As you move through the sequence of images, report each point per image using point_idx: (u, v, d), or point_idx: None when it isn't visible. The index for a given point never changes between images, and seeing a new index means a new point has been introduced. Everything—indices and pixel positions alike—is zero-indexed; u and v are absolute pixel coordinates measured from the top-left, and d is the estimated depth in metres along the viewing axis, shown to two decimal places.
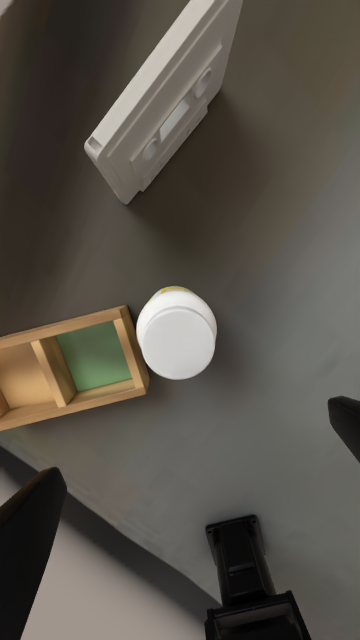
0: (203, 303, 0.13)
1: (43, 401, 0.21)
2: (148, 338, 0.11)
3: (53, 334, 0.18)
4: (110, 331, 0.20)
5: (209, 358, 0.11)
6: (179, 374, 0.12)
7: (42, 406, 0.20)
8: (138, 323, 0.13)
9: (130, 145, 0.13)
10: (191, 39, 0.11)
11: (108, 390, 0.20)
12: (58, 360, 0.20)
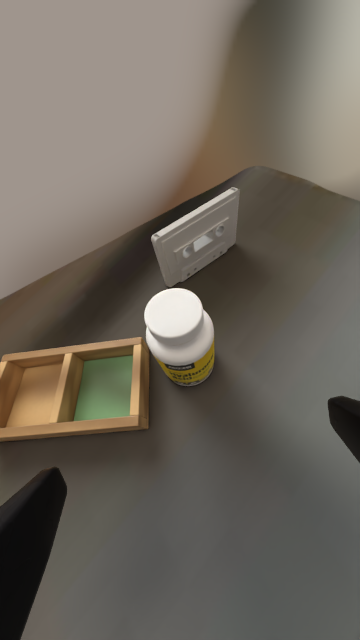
0: None
1: None
2: (152, 303, 0.15)
3: (84, 350, 0.22)
4: (128, 366, 0.22)
5: (196, 322, 0.13)
6: (168, 332, 0.13)
7: None
8: None
9: (175, 243, 0.23)
10: (210, 209, 0.23)
11: None
12: (74, 381, 0.21)
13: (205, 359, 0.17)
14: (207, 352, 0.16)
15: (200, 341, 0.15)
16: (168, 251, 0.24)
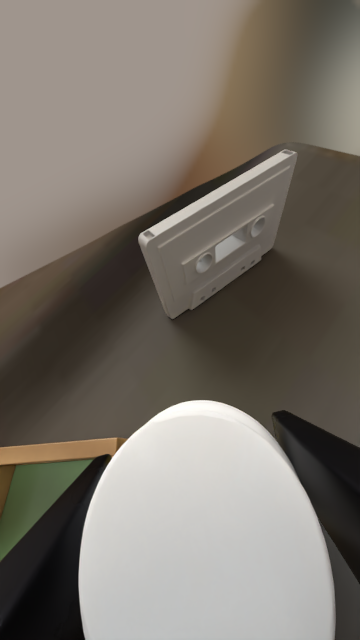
0: (270, 435, 0.06)
1: None
2: (115, 482, 0.04)
3: (4, 462, 0.11)
4: None
5: None
6: None
7: None
8: None
9: (184, 249, 0.13)
10: (248, 186, 0.13)
11: None
12: None
13: None
14: None
15: None
16: (171, 263, 0.13)
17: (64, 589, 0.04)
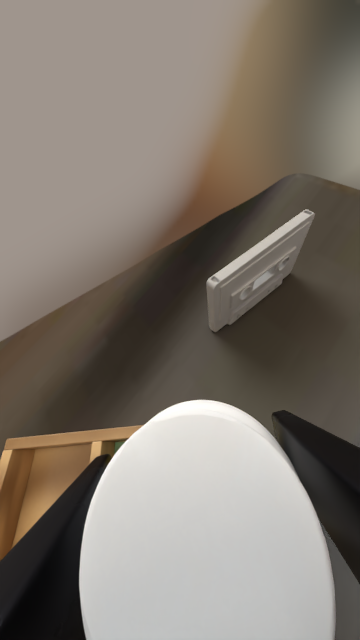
0: (270, 435, 0.06)
1: None
2: (116, 481, 0.04)
3: (119, 437, 0.16)
4: None
5: None
6: None
7: None
8: None
9: (234, 285, 0.18)
10: (281, 240, 0.18)
11: None
12: None
13: None
14: None
15: None
16: (225, 296, 0.18)
17: (64, 589, 0.04)
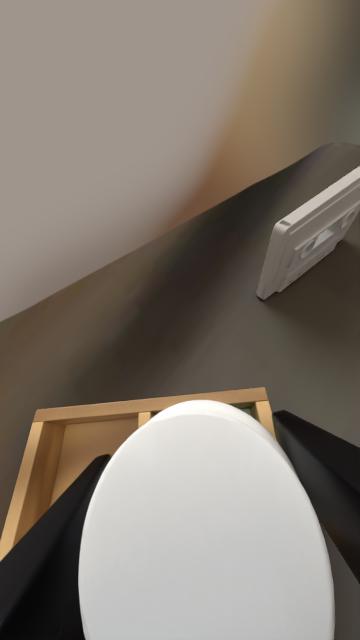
0: (270, 435, 0.06)
1: None
2: (115, 481, 0.04)
3: None
4: None
5: None
6: None
7: None
8: None
9: (301, 236, 0.15)
10: (355, 184, 0.15)
11: None
12: None
13: None
14: None
15: None
16: (289, 248, 0.15)
17: (64, 589, 0.04)
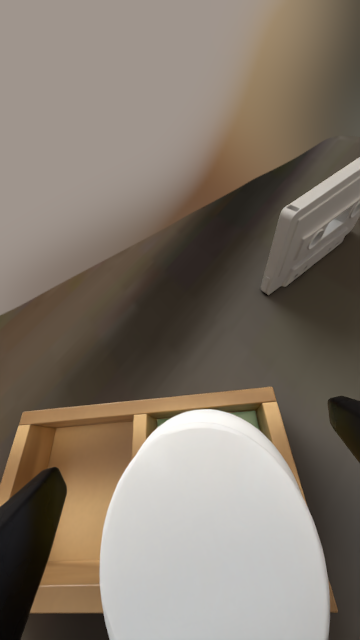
0: (271, 444, 0.06)
1: (88, 562, 0.11)
2: (130, 490, 0.04)
3: (169, 409, 0.12)
4: None
5: None
6: None
7: (89, 571, 0.10)
8: None
9: (310, 224, 0.14)
10: None
11: None
12: None
13: None
14: None
15: None
16: (297, 237, 0.14)
17: None
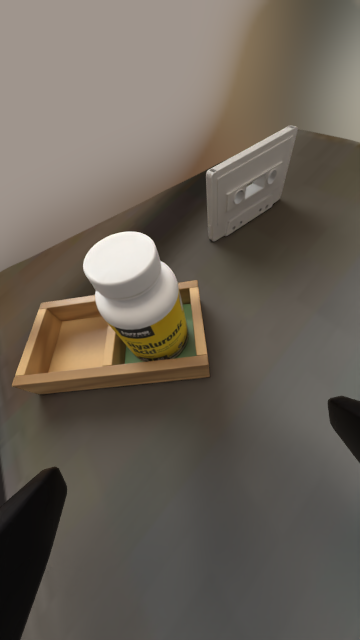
0: None
1: None
2: (95, 248, 0.12)
3: None
4: None
5: (145, 266, 0.10)
6: (108, 278, 0.10)
7: None
8: None
9: (229, 183, 0.21)
10: (268, 146, 0.21)
11: None
12: None
13: (167, 325, 0.14)
14: (168, 314, 0.13)
15: (157, 298, 0.12)
16: (221, 192, 0.21)
17: None
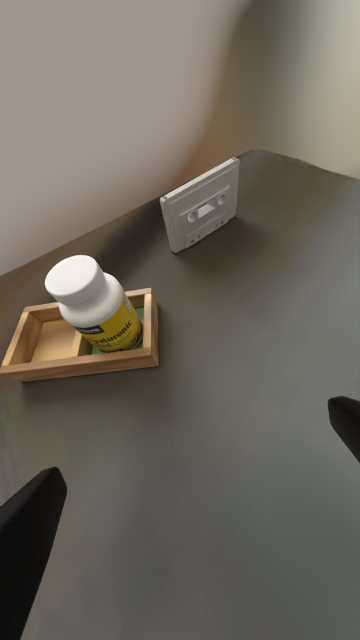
0: (114, 278, 0.18)
1: None
2: (55, 268, 0.16)
3: None
4: None
5: (87, 282, 0.15)
6: (61, 291, 0.15)
7: None
8: None
9: (181, 207, 0.26)
10: (213, 176, 0.26)
11: None
12: None
13: (114, 324, 0.18)
14: (113, 316, 0.17)
15: (102, 304, 0.16)
16: (175, 214, 0.26)
17: None
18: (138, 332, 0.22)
